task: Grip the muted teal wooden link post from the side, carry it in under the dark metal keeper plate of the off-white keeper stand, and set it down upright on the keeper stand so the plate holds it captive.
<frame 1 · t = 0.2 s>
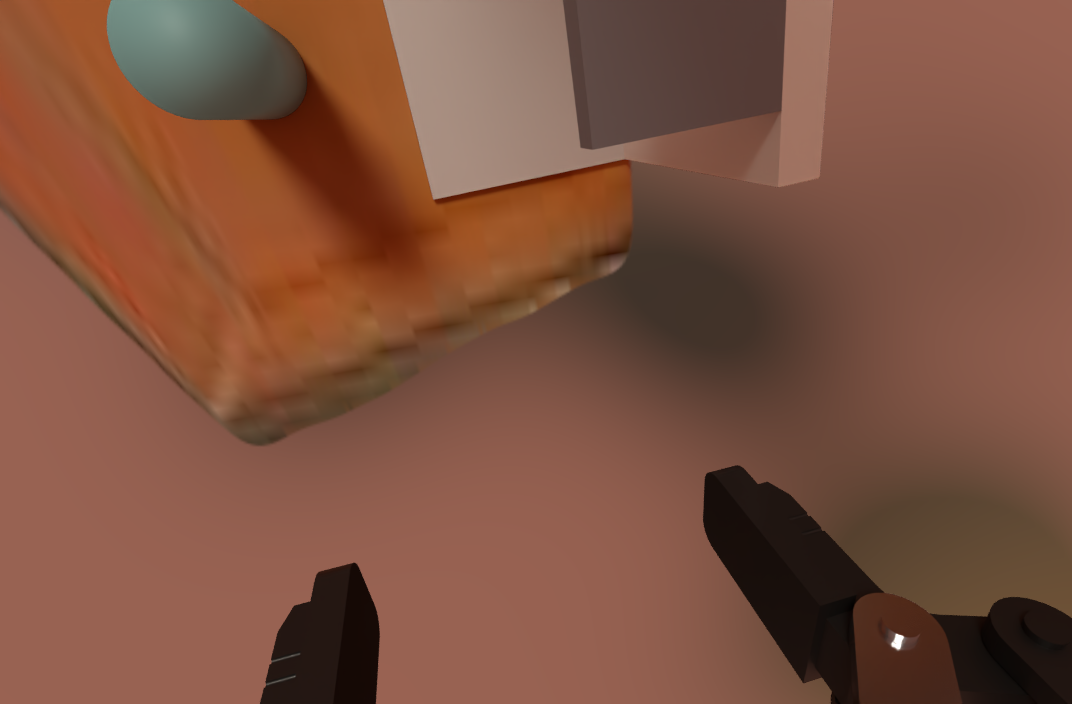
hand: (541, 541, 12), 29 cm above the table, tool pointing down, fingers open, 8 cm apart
link post: (261, 73, 30), on the table
keeper stand: (521, 28, 32), on the table
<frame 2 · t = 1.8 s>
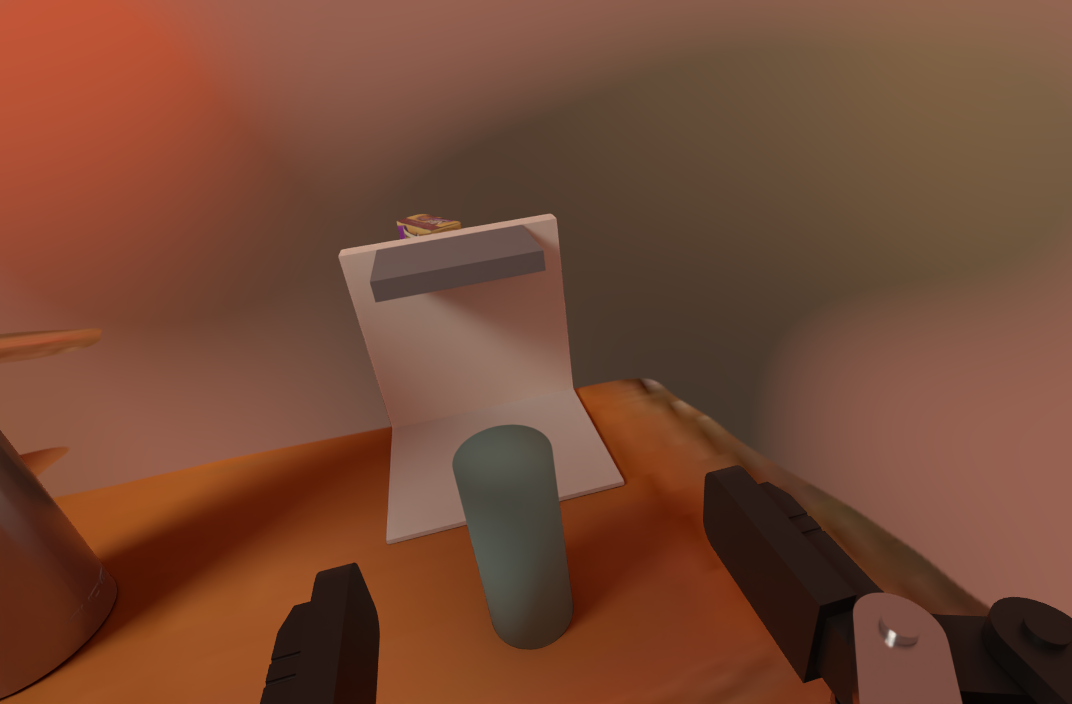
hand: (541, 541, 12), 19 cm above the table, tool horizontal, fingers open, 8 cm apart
link post: (532, 608, 31), on the table
keeper stand: (494, 448, 45), on the table
candy box: (452, 340, 66), on the table
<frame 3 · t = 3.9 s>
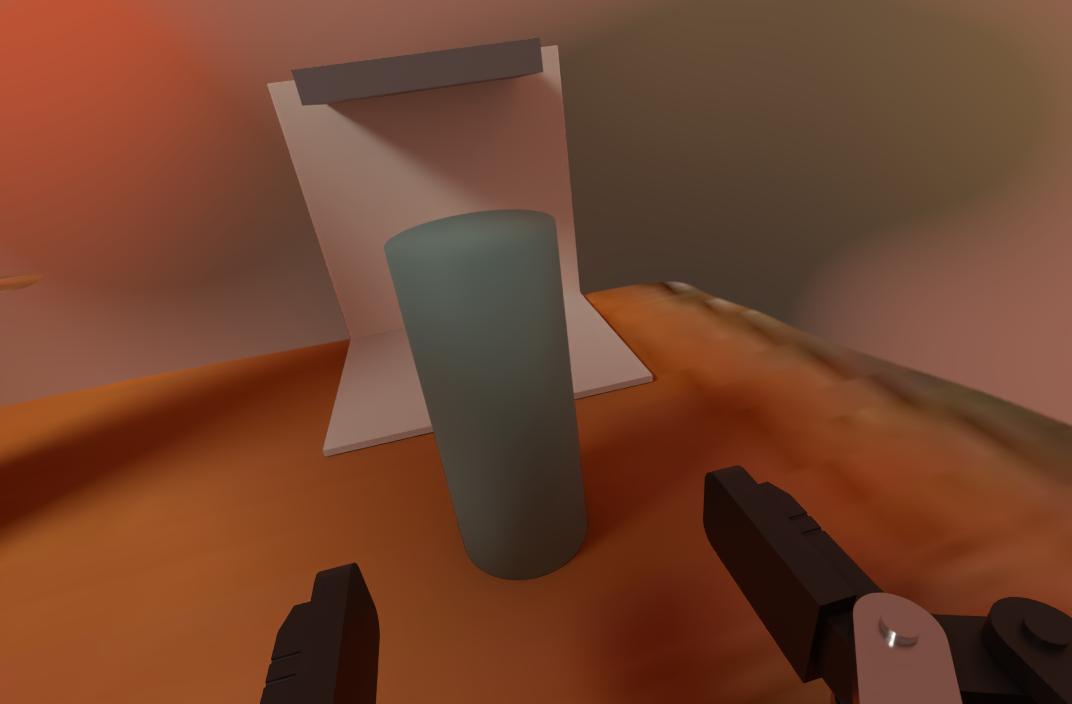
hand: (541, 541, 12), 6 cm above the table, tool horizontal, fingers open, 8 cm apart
link post: (524, 525, 21), on the table
keeper stand: (478, 353, 35), on the table
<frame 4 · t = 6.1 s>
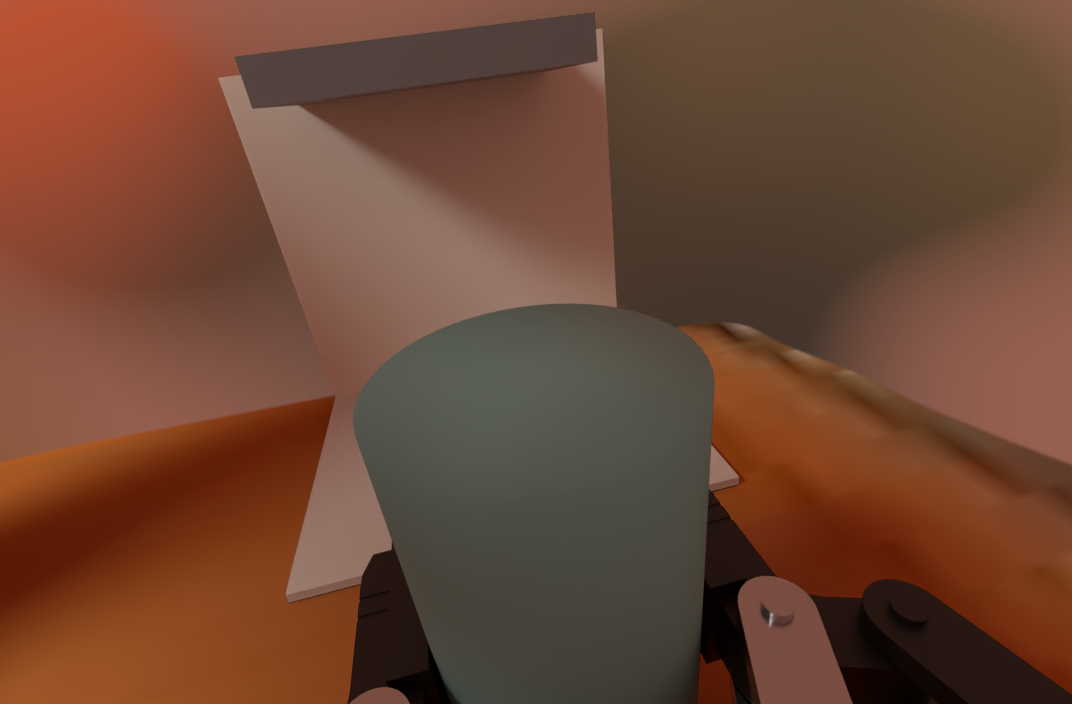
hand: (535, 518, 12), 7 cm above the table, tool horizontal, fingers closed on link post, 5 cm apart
keeper stand: (497, 424, 27), on the table
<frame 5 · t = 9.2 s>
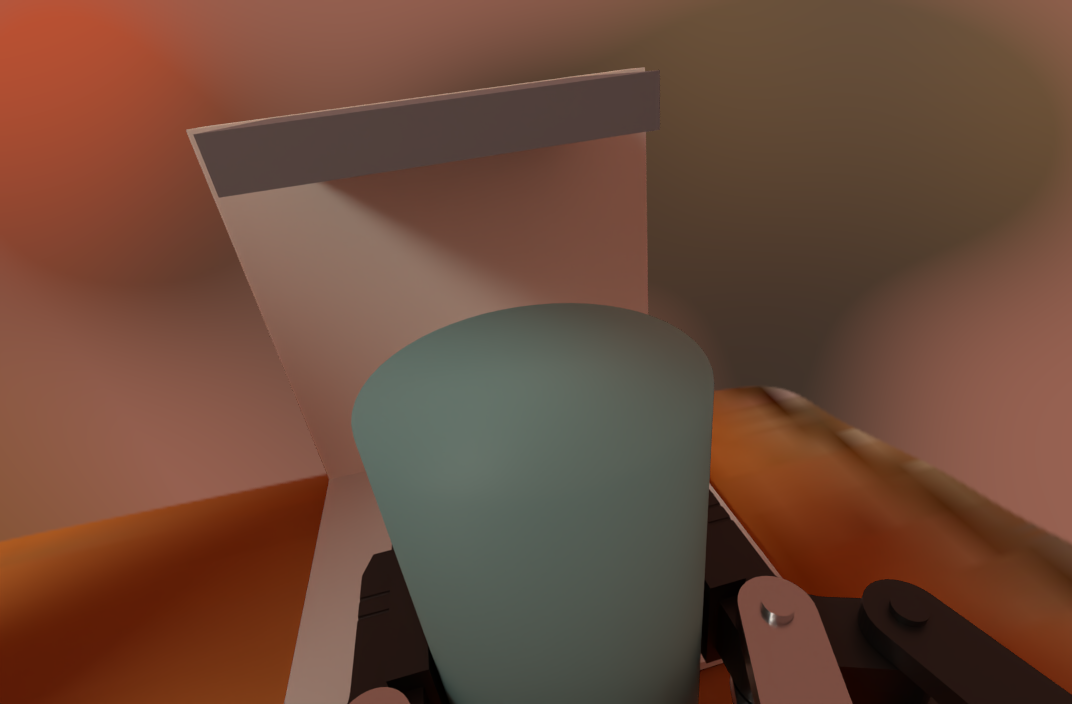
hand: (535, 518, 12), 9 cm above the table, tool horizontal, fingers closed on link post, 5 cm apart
keeper stand: (517, 526, 23), on the table
when the fingers open (7 cm above the table, at t = 12.7 s): link post stays where it is, resting on keeper stand.
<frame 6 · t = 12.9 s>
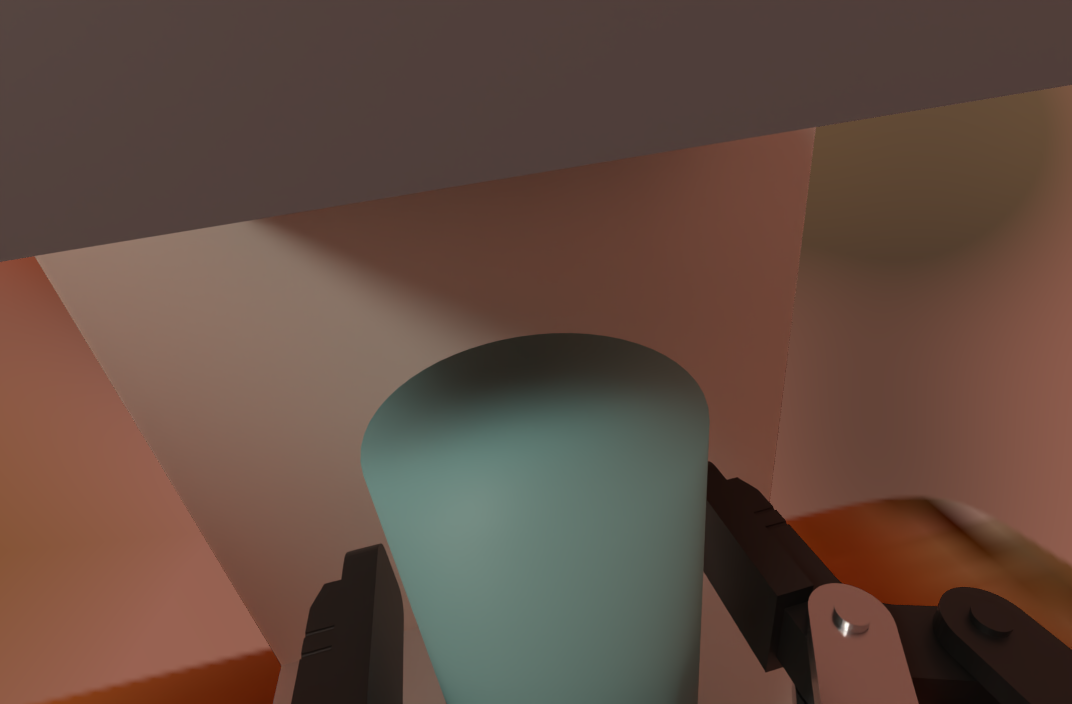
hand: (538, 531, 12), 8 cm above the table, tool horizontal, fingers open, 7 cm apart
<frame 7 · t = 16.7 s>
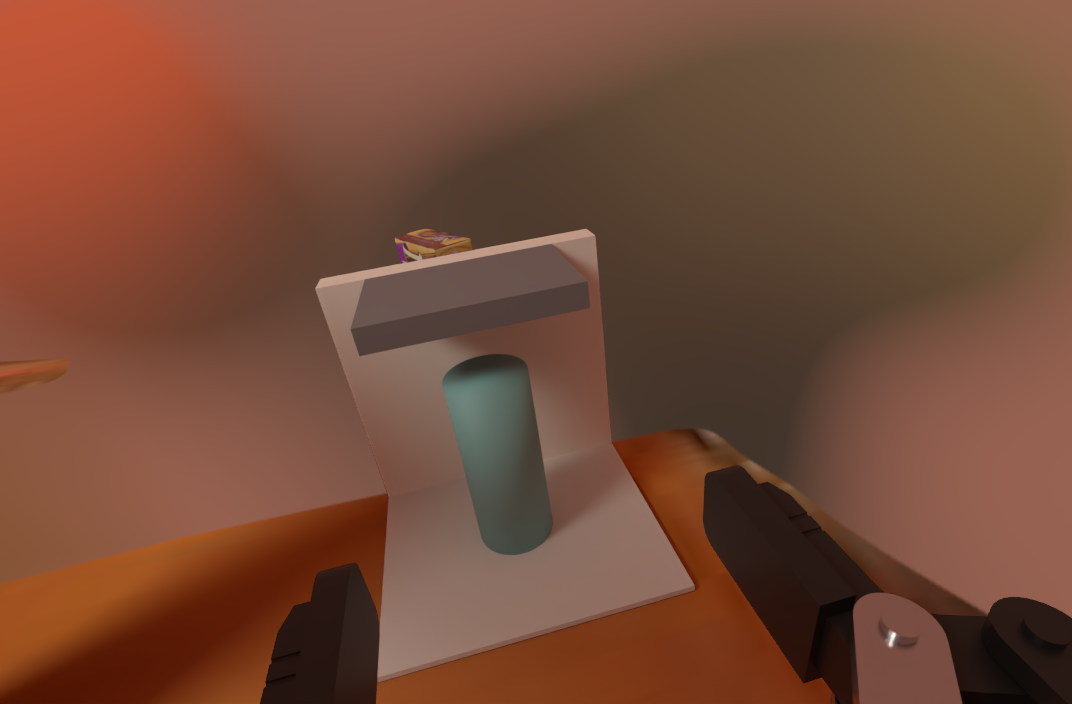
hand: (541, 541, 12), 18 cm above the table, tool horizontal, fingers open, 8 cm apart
link post: (516, 525, 35), resting on keeper stand
keeper stand: (517, 528, 35), on the table
candy box: (461, 375, 56), on the table
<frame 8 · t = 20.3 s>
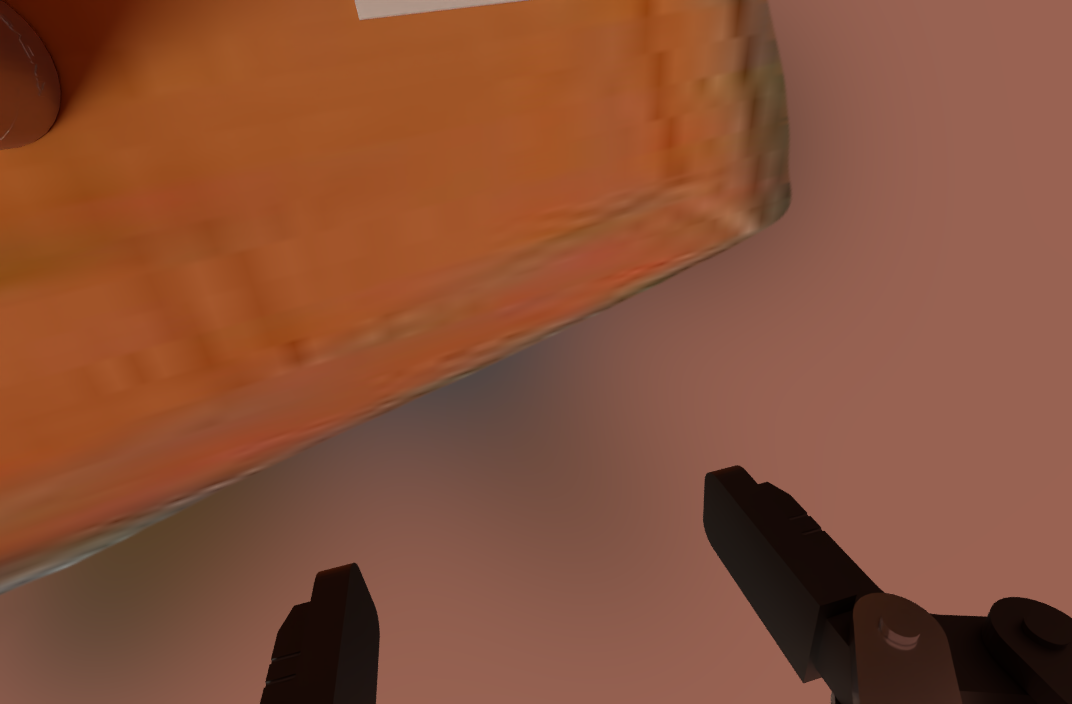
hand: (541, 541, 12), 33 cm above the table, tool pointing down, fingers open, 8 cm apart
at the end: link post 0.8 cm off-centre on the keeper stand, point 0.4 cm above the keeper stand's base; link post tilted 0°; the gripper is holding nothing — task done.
